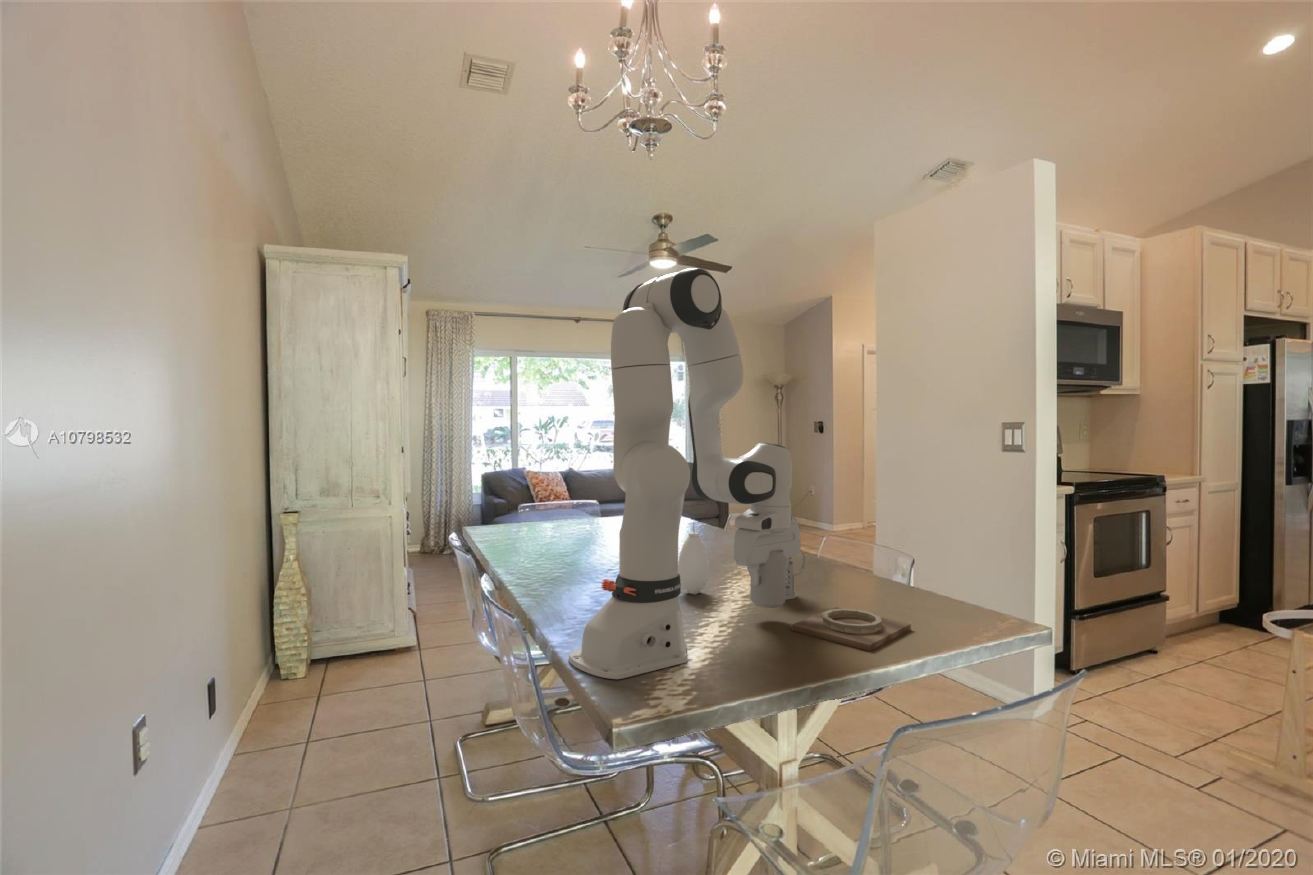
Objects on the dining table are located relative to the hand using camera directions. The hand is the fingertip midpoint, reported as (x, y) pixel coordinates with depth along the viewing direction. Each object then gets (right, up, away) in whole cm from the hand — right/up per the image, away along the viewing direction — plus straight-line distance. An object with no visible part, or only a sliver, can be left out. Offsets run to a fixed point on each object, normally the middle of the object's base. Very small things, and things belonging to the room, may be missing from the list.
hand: (768, 581), depth 135 cm
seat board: (+16, -9, -7) cm, 19 cm away
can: (0, -5, 0) cm, 5 cm away
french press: (+7, -8, +21) cm, 24 cm away
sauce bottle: (-15, -8, +22) cm, 28 cm away
